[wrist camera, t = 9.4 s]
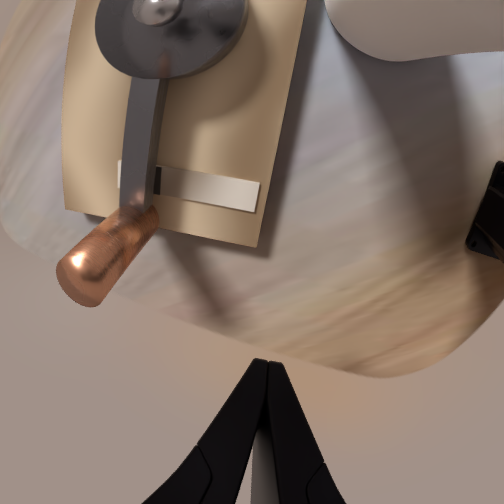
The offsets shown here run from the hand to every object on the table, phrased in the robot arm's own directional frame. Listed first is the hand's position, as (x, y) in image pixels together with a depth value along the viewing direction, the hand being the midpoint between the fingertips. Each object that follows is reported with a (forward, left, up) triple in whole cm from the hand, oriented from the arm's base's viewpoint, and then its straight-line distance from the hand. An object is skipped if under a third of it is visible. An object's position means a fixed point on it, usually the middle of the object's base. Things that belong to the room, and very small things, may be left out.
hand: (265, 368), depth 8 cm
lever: (+7, -6, -9) cm, 13 cm away
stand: (+7, -6, -11) cm, 15 cm away
